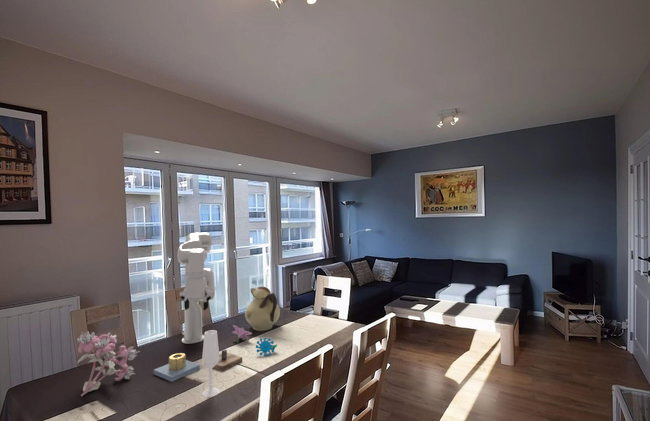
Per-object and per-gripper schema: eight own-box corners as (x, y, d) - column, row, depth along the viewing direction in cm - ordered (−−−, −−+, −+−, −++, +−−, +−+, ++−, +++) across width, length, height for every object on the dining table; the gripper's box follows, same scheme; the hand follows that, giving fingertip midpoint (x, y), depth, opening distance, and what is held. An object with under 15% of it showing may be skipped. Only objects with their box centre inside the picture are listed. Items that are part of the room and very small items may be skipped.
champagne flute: (202, 398, 124) (202, 335, 125) (201, 390, 130) (201, 330, 131) (220, 394, 126) (220, 333, 127) (218, 386, 133) (218, 328, 134)
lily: (253, 344, 181) (256, 327, 186) (235, 341, 174) (238, 323, 179) (241, 346, 188) (244, 329, 193) (224, 343, 181) (227, 326, 186)
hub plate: (153, 374, 145) (153, 359, 145) (181, 362, 157) (181, 349, 157) (171, 381, 137) (171, 366, 138) (199, 369, 149) (199, 354, 149)
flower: (118, 397, 123) (137, 328, 135) (53, 397, 119) (78, 327, 131) (135, 395, 140) (150, 335, 152) (79, 395, 137) (99, 333, 149)
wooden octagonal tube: (166, 370, 144) (166, 359, 144) (174, 363, 151) (174, 353, 151) (180, 370, 144) (180, 359, 144) (187, 363, 150) (187, 353, 151)
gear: (255, 355, 160) (256, 336, 167) (253, 360, 163) (254, 341, 171) (277, 355, 163) (277, 336, 170) (275, 360, 167) (274, 341, 174)
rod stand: (205, 365, 153) (205, 352, 153) (225, 356, 163) (225, 344, 164) (222, 371, 147) (222, 357, 147) (242, 361, 157) (242, 348, 157)
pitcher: (252, 321, 220) (252, 285, 221) (285, 322, 217) (285, 285, 217) (239, 333, 198) (239, 292, 198) (276, 334, 194) (276, 293, 195)
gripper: (175, 276, 158) (175, 311, 158) (209, 277, 157) (209, 311, 157) (183, 273, 165) (183, 306, 165) (215, 274, 164) (215, 307, 164)
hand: (196, 309), depth 161 cm, fingers open, 9 cm apart
